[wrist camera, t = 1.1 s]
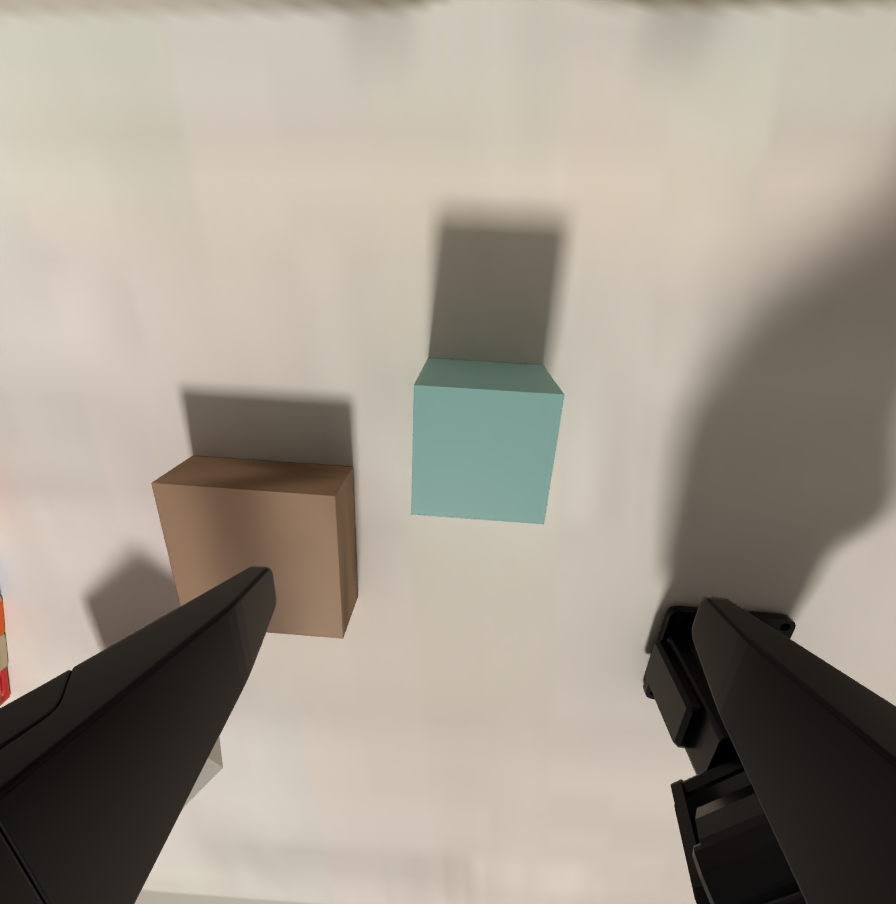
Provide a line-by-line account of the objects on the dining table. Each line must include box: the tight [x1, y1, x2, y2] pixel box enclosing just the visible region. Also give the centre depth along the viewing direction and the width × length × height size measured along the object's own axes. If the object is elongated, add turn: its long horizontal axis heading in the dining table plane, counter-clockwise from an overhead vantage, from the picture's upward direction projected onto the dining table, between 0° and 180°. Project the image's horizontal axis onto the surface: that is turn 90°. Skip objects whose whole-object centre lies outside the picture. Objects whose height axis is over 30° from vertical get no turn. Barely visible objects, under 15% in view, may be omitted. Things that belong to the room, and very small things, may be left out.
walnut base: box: [151, 456, 358, 639], centre depth 22 cm, size 8×8×3 cm
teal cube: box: [411, 358, 564, 524], centre depth 18 cm, size 5×5×5 cm
